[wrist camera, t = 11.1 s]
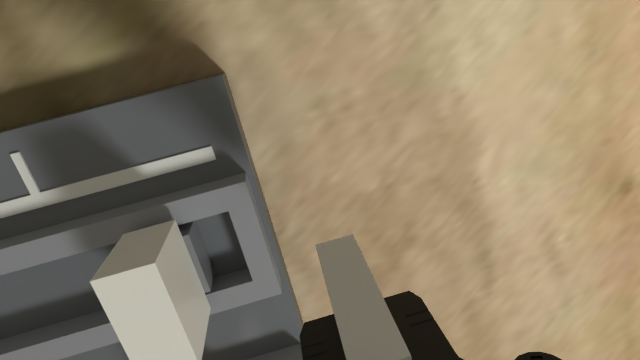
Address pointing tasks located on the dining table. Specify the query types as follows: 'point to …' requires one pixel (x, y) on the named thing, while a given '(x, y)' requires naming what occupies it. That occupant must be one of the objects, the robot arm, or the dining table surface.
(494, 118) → the dining table surface
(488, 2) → the dining table surface
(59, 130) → the grey flat slotted tray
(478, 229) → the dining table surface
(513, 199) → the dining table surface
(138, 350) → the fader
